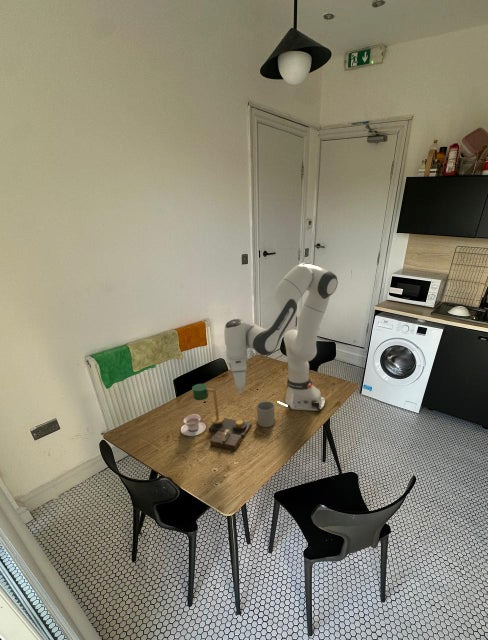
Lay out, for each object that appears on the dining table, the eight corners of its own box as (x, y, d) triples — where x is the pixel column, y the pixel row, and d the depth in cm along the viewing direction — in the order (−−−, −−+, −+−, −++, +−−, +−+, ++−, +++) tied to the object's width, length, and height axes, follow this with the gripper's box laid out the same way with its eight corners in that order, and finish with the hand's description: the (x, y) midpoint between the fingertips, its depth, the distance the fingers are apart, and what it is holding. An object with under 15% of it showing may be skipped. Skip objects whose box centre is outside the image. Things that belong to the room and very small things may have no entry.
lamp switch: (244, 423, 156) (244, 420, 155) (241, 427, 153) (241, 424, 152) (237, 422, 157) (237, 419, 156) (234, 426, 154) (234, 423, 153)
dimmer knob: (226, 434, 149) (226, 428, 147) (229, 435, 148) (229, 429, 147) (221, 440, 144) (221, 435, 143) (225, 441, 144) (224, 435, 142)
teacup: (197, 439, 150) (195, 428, 147) (175, 433, 154) (173, 422, 151) (210, 425, 160) (209, 414, 157) (190, 420, 163) (188, 409, 160)
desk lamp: (226, 417, 160) (223, 387, 151) (220, 425, 154) (216, 394, 145) (201, 412, 163) (196, 382, 154) (194, 420, 157) (189, 389, 148)
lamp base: (251, 425, 160) (251, 420, 158) (243, 437, 151) (243, 431, 150) (218, 419, 164) (217, 414, 162) (209, 431, 156) (208, 425, 154)
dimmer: (242, 439, 150) (242, 434, 149) (234, 451, 143) (233, 446, 141) (219, 434, 153) (218, 429, 152) (210, 446, 146) (209, 441, 144)
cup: (276, 419, 165) (276, 403, 159) (270, 428, 158) (270, 411, 153) (261, 416, 167) (260, 400, 162) (255, 425, 160) (254, 408, 155)
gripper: (228, 349, 143) (230, 377, 150) (231, 369, 126) (233, 399, 133) (242, 348, 144) (244, 376, 152) (247, 368, 127) (249, 398, 134)
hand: (239, 387), depth 142 cm, fingers open, 8 cm apart
